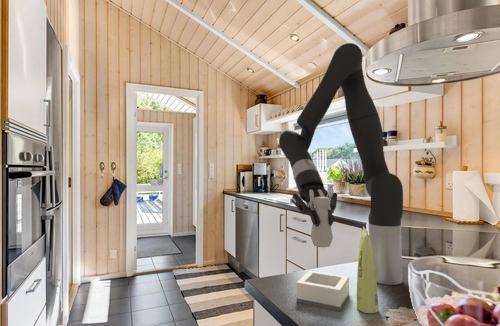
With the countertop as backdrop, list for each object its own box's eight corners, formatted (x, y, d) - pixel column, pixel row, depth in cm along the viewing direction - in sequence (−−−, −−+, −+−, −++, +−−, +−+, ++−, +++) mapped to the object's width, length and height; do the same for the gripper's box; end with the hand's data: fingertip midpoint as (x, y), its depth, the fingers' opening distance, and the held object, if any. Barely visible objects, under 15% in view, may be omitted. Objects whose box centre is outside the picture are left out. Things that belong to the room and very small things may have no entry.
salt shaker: (317, 242, 86) (316, 195, 86) (336, 245, 82) (335, 196, 82) (307, 246, 81) (306, 197, 82) (326, 249, 78) (325, 198, 78)
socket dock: (309, 288, 88) (309, 270, 88) (349, 295, 82) (348, 276, 83) (296, 302, 78) (296, 282, 78) (340, 311, 73) (339, 290, 73)
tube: (350, 306, 75) (349, 227, 76) (364, 302, 78) (363, 225, 78) (368, 316, 70) (367, 231, 71) (383, 311, 73) (382, 229, 73)
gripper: (287, 168, 88) (302, 216, 76) (332, 168, 91) (354, 214, 78) (282, 186, 93) (295, 234, 81) (325, 185, 96) (344, 231, 84)
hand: (324, 224), depth 80 cm, fingers closed on salt shaker, 3 cm apart
